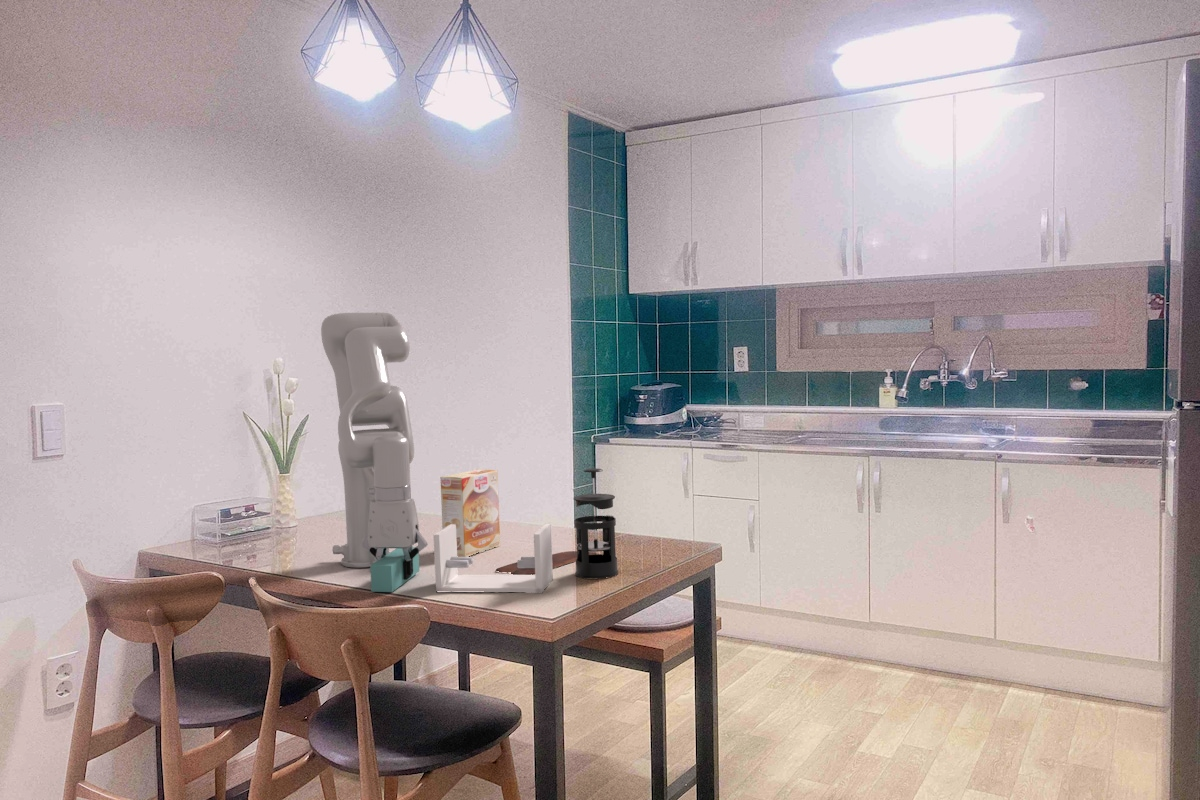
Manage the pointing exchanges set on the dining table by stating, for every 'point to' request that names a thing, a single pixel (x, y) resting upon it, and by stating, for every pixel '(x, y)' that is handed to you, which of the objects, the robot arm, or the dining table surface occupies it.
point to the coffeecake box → (472, 509)
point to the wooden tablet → (557, 561)
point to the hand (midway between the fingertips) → (396, 576)
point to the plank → (390, 571)
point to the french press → (595, 563)
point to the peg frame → (452, 581)
